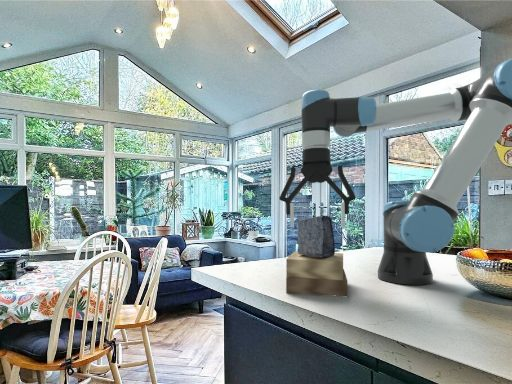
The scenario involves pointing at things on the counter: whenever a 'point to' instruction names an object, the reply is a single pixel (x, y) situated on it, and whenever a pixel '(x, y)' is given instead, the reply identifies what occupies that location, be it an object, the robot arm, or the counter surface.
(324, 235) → the stone
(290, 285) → the tower base
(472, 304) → the counter surface
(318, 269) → the tower top
